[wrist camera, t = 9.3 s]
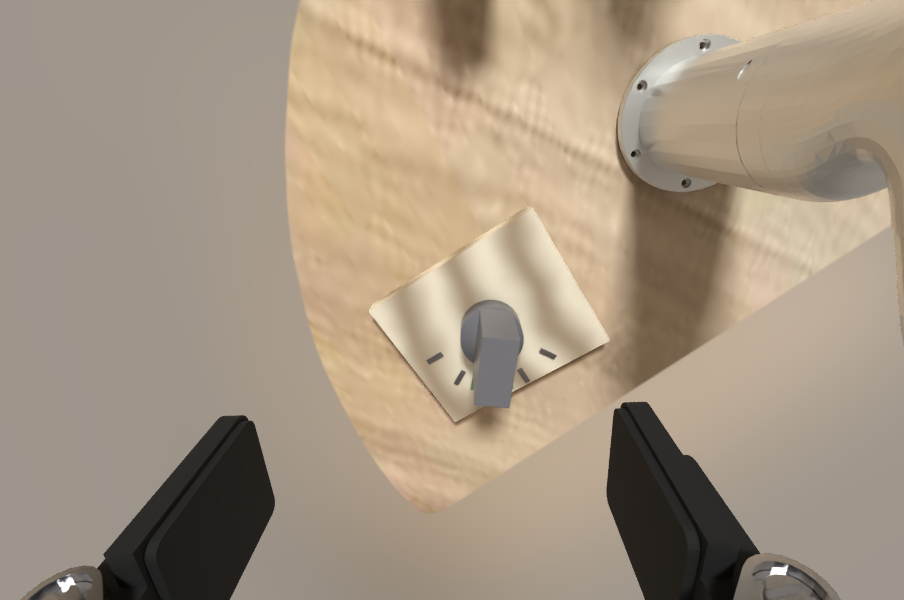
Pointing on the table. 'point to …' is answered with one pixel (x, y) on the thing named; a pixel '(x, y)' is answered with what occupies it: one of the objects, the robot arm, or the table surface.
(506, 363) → the knob
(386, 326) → the dial board
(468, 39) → the table surface
